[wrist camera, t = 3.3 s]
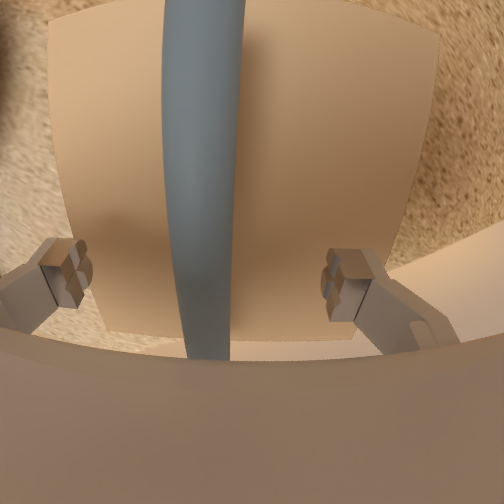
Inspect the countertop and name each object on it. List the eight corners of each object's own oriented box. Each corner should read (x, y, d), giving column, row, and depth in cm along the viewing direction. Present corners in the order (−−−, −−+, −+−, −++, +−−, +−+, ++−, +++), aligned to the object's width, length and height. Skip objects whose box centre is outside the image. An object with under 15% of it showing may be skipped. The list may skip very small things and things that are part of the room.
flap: (248, -7, 7) (250, -60, 3) (231, 333, 18) (229, 410, 13) (56, 22, 7) (-31, 24, 3) (110, 323, 17) (87, 391, 13)
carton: (357, 42, 16) (442, 35, 7) (321, 246, 26) (352, 339, 18) (132, 31, 15) (47, 19, 6) (145, 238, 25) (106, 329, 17)
